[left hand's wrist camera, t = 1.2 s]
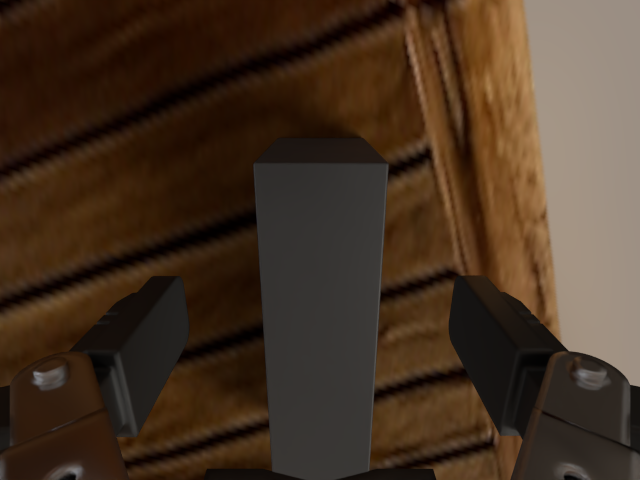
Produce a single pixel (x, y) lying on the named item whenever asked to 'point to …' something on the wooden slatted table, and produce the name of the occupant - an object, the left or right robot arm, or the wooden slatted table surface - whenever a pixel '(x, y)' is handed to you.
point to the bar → (320, 299)
